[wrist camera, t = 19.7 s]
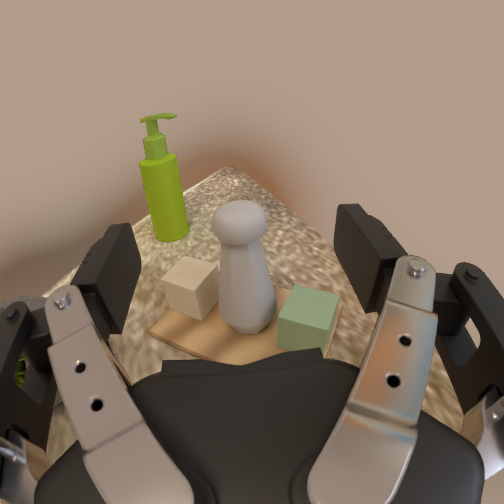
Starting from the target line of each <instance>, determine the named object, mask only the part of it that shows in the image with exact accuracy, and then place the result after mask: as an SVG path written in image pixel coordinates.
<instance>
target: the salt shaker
mask: <svg viewBox="0 0 504 504" xmlns="http://www.w3.org/2000/svg"><path fill="white" fill-rule="evenodd" d="M212 226H213V231H214V233H215V235H216V237H217V238H218V240H219V241H221V259H220V279H219V302H218V309H219V311H220V313H221V316H222V318H223V320H224V321H225V322H226V323H228V324H229V325H230V326H231V327H233V328H234V329H235V330H236V331H237V333H238V334H258V333H259V332H260V331H261V330H262V329H263V328H264V327H265V326H267V325H268V324H269V322H270V321H271V319H272V318H273V316H274V314H275V313H276V310H277V299H276V295H275V292H274V288H273V285H272V281H271V278H270V274H269V271H268V267H267V264H266V260H265V257H264V253H263V250H262V246H261V243H260V238H261V237H262V236H263V235H264V234H265V232H266V214H265V210H264V209H263V208H262V207H261V206H260V205H258V204H257V203H255V202H252V201H246V200H238V201H231V202H228V203H225V204H223V205H221V206H220V207H219V208H217V210H216V211H215V212H214V215H213V217H212Z"/></svg>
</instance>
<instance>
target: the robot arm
mask: <svg viewBox="0 0 504 504" xmlns="http://www.w3.org/2000/svg"><path fill="white" fill-rule="evenodd" d="M334 250H335V253H336V256H337V258H338V260H339V261H340V263H341V265H342V267H343V269H344V271H345V273H346V275H347V277H348V279H349V281H350V283H351V285H352V287H353V289H354V291H355V293H356V295H357V297H358V299H359V301H360V304H361V306H362V308H363V310H364V312H365V314H366V313H371V312H377V313H378V315H379V316H378V319H377V321H376V324H375V327H374V330H373V332H372V335H371V338H370V340H369V343H368V346H367V348H366V351H365V353H364V356H363V358H362V360H361V363H360V365H359V367H356V366H354V365H352V364H349V363H347V362H343V361H339V360H335V359H329V358H323V354H322V351H321V347H318V348H311V349H304V350H297V351H289V352H282V353H279V354H276V355H273V356H270V357H267V358H264V359H261V360H258V361H255V362H252V363H249V364H245V365H233V364H226V363H220V362H213V361H207V360H202V359H195V360H163V362H162V370H161V372H159V373H155V374H152V375H150V376H147V377H145V378H143V379H141V380H140V381H138V382H136V383H135V384H133V382H132V380H131V379H130V377H129V376H128V374H127V372H126V371H125V369H124V367H123V366H122V364H121V362H120V360H119V358H118V357H117V355H116V353H115V351H114V349H113V348H112V346H111V344H110V342H109V341H108V339H109V335H110V334H122V331H123V327H124V324H125V320H126V317H127V313H128V310H129V307H130V303H131V300H132V297H133V294H134V290H135V287H136V284H137V281H138V278H139V275H140V272H141V257H140V253H139V250H138V247H137V244H136V241H135V237H134V234H133V231H132V227H131V225H130V224H129V223H122V224H115V225H110V226H109V228H108V229H107V231H106V232H105V234H104V236H103V237H102V238H101V239H99V240H98V241H97V242H96V243H95V244H94V245H93V246H91V248H90V250H89V251H88V253H87V255H86V257H85V258H84V260H83V261H82V264H81V265H80V267H79V268H78V270H77V272H76V274H75V276H74V277H73V279H72V281H71V283H70V285H66V286H63V287H60V288H58V289H57V290H55V291H54V292H53V293H52V294H51V295H50V296H49V297H48V298H47V300H46V302H45V307H42V308H39V309H36V310H33V311H30V309H29V308H28V306H27V304H26V303H25V302H24V301H16V302H13V303H12V304H10V305H9V306H7V307H6V308H5V309H4V311H3V312H2V313H1V315H0V502H1V503H4V504H481V497H482V492H483V487H484V481H485V480H487V479H488V478H490V477H491V476H493V475H494V474H496V473H497V472H499V471H500V470H502V469H503V468H504V299H503V297H502V296H501V294H500V293H499V292H498V290H497V289H496V288H495V286H494V285H493V284H492V282H491V281H490V280H489V278H488V277H487V276H486V275H485V273H484V272H483V271H482V270H481V269H479V268H478V267H476V266H475V265H473V264H470V263H466V262H462V263H458V264H457V265H456V267H455V269H454V272H453V274H443V273H436V272H435V269H434V267H433V266H432V265H431V264H430V263H429V262H428V261H426V260H425V259H423V258H420V257H418V256H413V255H408V254H407V252H406V251H405V250H404V249H403V247H402V246H401V245H400V244H399V242H398V241H397V240H396V239H395V238H394V237H393V236H392V234H391V233H390V232H389V231H387V228H386V227H385V226H384V225H383V223H382V222H381V221H379V220H378V219H376V218H374V217H373V216H371V215H368V214H367V213H366V212H365V211H364V210H363V209H362V207H361V206H360V205H359V204H340V205H339V206H338V208H337V215H336V224H335V233H334ZM469 318H471V319H472V321H473V322H474V324H475V326H476V328H477V329H478V331H479V334H480V340H481V341H480V345H479V347H478V349H477V348H476V346H475V344H474V342H473V340H472V338H471V336H470V335H469V333H468V331H467V329H466V327H465V325H466V323H467V322H468V320H469ZM434 345H435V347H436V349H437V351H438V353H439V355H440V357H441V360H442V362H443V364H444V366H445V369H446V371H447V373H448V376H449V378H450V380H451V383H452V385H453V388H454V390H455V393H456V395H457V398H458V400H459V403H460V406H461V408H462V411H463V414H464V419H463V424H462V427H463V429H462V430H461V431H460V433H457V432H455V431H454V430H452V429H451V428H449V427H448V426H446V425H444V424H443V423H441V422H440V421H438V420H437V419H435V418H434V417H432V416H430V415H429V414H427V413H426V412H424V411H423V410H421V407H422V403H423V399H424V395H425V391H426V386H427V382H428V377H429V373H430V368H431V362H432V357H433V351H434ZM21 354H22V355H23V356H24V358H25V359H26V360H27V361H28V362H29V365H28V369H27V372H26V375H25V378H24V381H23V385H22V388H20V387H19V386H18V385H17V383H16V380H15V370H16V367H17V364H18V362H19V359H20V356H21ZM57 389H59V392H60V395H61V398H62V400H63V403H64V406H65V409H66V411H67V414H68V416H69V419H70V421H71V424H72V426H73V428H74V431H75V433H76V435H77V438H78V440H77V441H76V442H75V443H74V444H73V445H72V446H71V447H70V448H69V449H68V450H67V451H66V452H65V453H64V454H63V455H62V456H61V457H60V458H59V459H58V460H57V461H56V462H55V463H54V464H53V465H50V464H49V462H48V458H47V455H46V448H47V441H48V434H49V428H50V422H51V417H52V412H53V407H54V402H55V398H56V393H57Z"/></svg>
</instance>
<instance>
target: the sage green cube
mask: <svg viewBox="0 0 504 504" xmlns="http://www.w3.org/2000/svg"><path fill="white" fill-rule="evenodd" d="M339 297H340V295H337V294H333V293H329V292H325V291H321V290H316V289H312V288H308V287H304V286H300V285H296V284H295V285H294V286H293V288H292V290H291V292H290V294H289V296H288V298H287V300H286V302H285V304H284V305H283V307H282V309H281V311H280V313H279V315H278V326H277V347H279V348H282V349H286V350H289V351H297V350H304V349H311V348H318V347H321V351H322V354H323V355H324V352H325V349H326V346H327V343H328V341H329V338H330V335H331V332H332V329H333V326H334V321H335V317H336V312H337V307H338V302H339Z"/></svg>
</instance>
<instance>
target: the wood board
mask: <svg viewBox="0 0 504 504" xmlns="http://www.w3.org/2000/svg"><path fill="white" fill-rule="evenodd" d="M219 277H220V271H219ZM273 288H274V292H275V295H276V299H277V310H276V313H275V314H274V316H273V318H272V319H271V321H270V322H269V324H268V325H267V326H265V327H264V328H263V329H262V330H261V331H260V332H259V333H258V334H238V333H237V331H236V330H235V329H234V328H233V327H231V326H230V325H229V324H228V323H226V322H225V321H224V320H223V318H222V316H221V313H220V311H219V309H218V302H219V300H218V301H217V303H216V304H215V305H214V307H213V308H212V309H211V310H210V312H209V313H208V314H207V316H206V317H205V318H204V320H203V321H200V320H198V319H195V318H193V317H190V316H187V315H185V314H182V313H180V312H177V311H175V310H172V309H170V307H169V309H168V310H167V311H166V312H165V313H164V314H163V315H162V316H161V317H160V319H159V320H158V321H157V322H156V323H155V324H154V325H153V326H152V328H151V329H150V330H149V331H150V334H151V336H153V337H155V338H157V339H159V340H161V341H163V342H165V343H167V344H169V345H172V346H174V347H176V348H178V349H180V350H182V351H185V352H187V353H189V354H191V355H193V356H196V357H198V358H200V359H203V360H207V361H213V362H220V363H226V364H233V365H245V364H249V363H252V362H255V361H258V360H261V359H264V358H267V357H270V356H273V355H276V354H279V353H282V352H289V350H286V349H282V348H279V347H277V326H278V315H279V313H280V311H281V309H282V307H283V305H284V304H285V302H286V300H287V298H288V296H289V294H290V292H291V290H289V289H285V288H282V287H278V286H274V285H273ZM342 306H343V303H342V302H338V307H337V312H336V317H335V321H334V326H333V329H332V332H331V335H330V338H329V341H328V343H327V346H326V349H325V352H324V355H323V358H326V355H327V353H328V350H329V347H330V344H331V341H332V338H333V335H334V332H335V329H336V326H337V323H338V319H339V316H340V313H341V310H342Z"/></svg>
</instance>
